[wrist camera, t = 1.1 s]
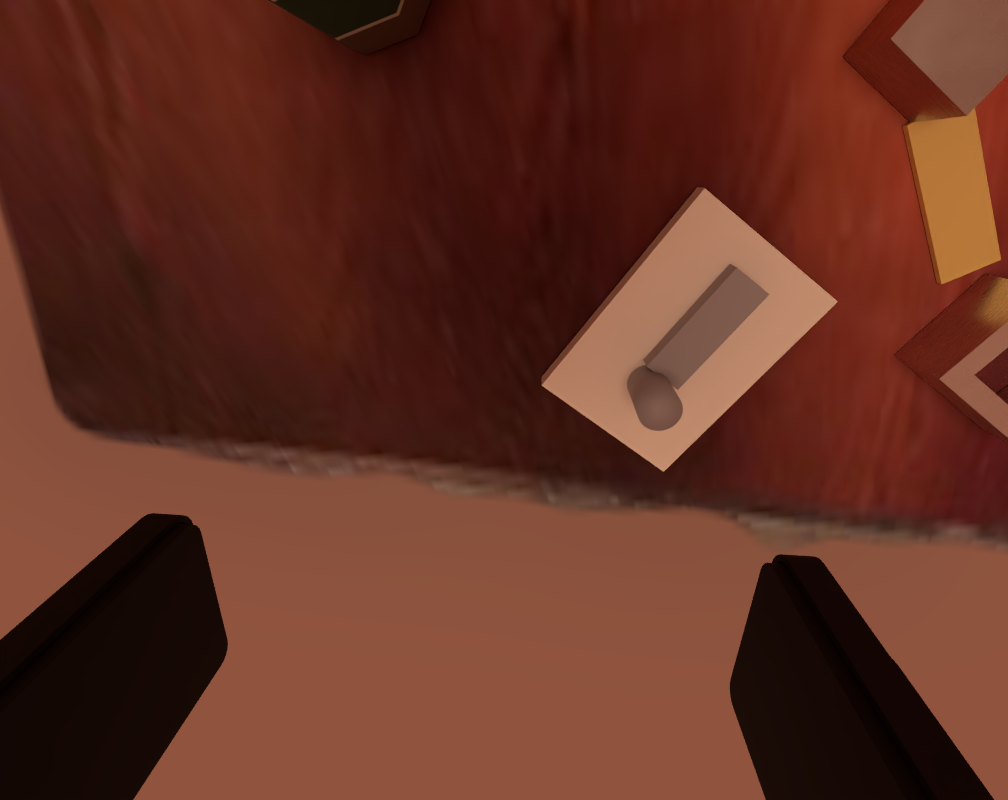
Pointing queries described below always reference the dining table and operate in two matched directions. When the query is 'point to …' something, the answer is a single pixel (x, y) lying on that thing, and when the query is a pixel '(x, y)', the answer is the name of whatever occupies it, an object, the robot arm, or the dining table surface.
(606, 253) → the dining table surface
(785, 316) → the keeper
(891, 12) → the block
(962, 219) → the yellow flat bar
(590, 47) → the dining table surface
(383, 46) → the beer bottle
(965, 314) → the link
